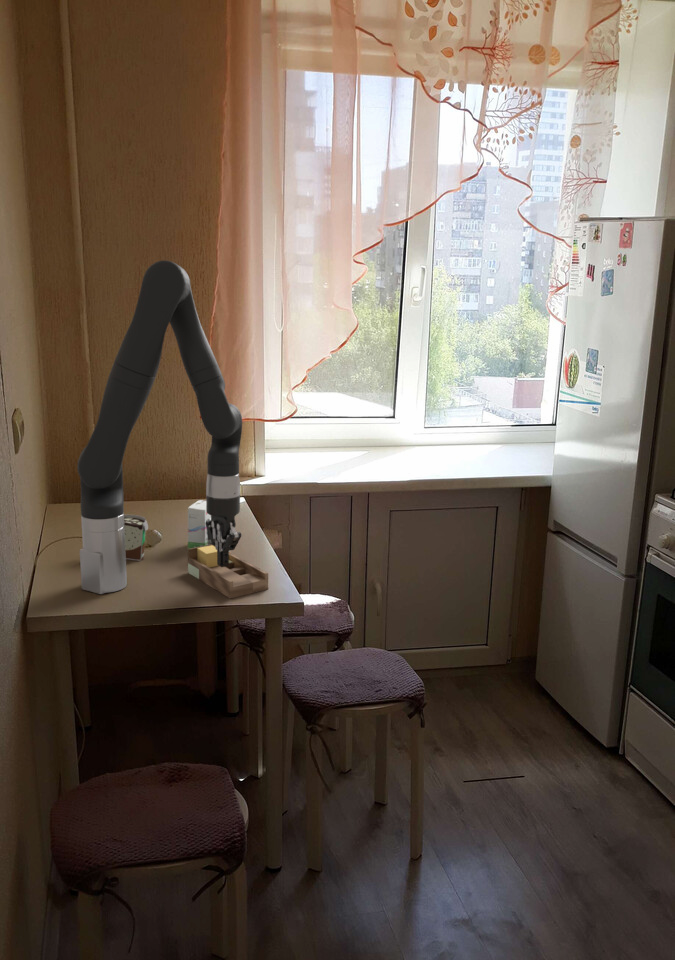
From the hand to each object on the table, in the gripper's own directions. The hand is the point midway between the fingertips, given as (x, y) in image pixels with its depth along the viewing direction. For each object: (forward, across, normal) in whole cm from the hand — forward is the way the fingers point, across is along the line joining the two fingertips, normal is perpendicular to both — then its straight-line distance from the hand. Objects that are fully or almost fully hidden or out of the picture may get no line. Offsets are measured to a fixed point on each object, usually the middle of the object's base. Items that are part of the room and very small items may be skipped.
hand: (222, 565), depth 191 cm
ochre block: (+2, +9, -1) cm, 9 cm away
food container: (+5, +32, +9) cm, 33 cm away
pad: (+5, +9, -2) cm, 11 cm away
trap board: (+5, +2, -2) cm, 6 cm away
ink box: (+5, +27, -9) cm, 29 cm away
